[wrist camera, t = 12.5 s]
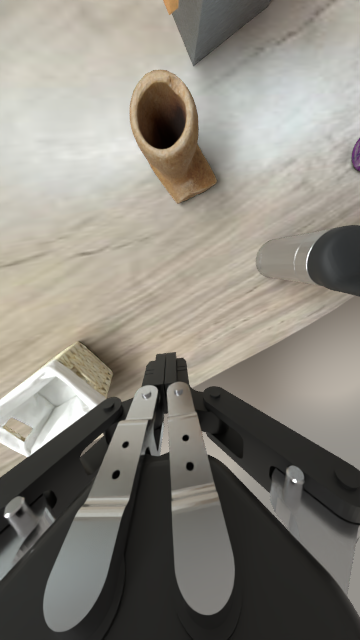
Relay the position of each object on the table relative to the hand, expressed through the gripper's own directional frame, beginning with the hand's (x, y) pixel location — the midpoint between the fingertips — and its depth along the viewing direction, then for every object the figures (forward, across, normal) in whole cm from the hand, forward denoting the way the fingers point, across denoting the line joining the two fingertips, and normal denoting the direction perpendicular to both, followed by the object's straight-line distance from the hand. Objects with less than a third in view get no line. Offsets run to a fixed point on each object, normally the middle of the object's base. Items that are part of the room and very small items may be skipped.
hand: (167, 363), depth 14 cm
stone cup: (+35, -4, -25) cm, 43 cm away
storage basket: (+33, +32, +22) cm, 51 cm away
